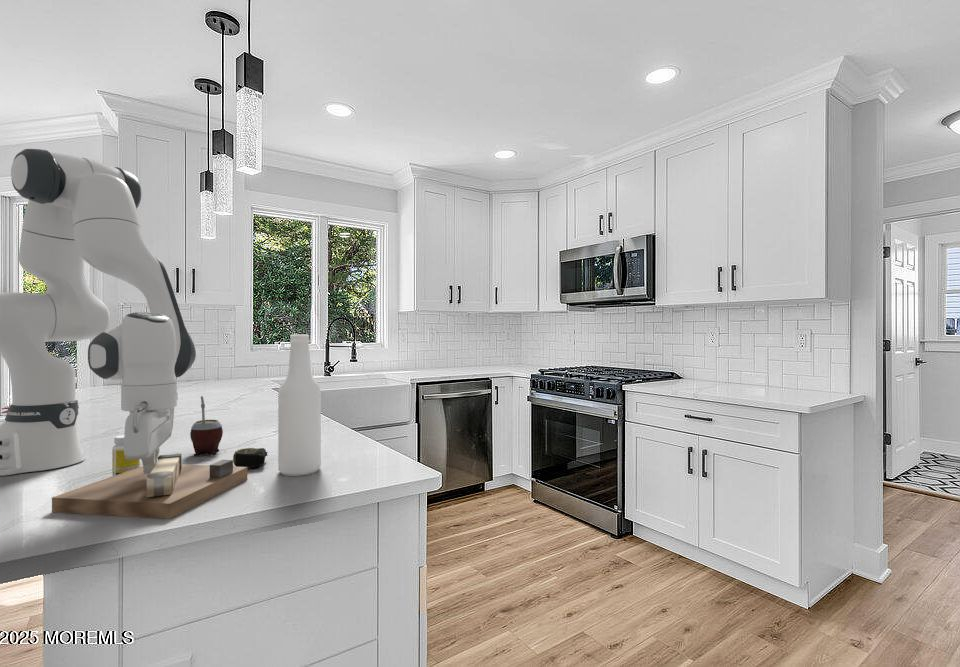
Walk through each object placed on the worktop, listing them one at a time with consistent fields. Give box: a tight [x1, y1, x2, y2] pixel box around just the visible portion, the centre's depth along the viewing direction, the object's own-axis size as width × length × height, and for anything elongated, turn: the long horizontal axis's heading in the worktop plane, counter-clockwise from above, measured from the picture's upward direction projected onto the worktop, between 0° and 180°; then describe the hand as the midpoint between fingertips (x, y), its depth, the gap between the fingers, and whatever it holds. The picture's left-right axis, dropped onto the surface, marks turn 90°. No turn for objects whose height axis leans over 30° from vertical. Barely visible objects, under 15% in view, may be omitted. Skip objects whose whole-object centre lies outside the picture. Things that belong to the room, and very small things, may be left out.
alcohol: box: [277, 333, 322, 477], centre depth 111 cm, size 9×9×30 cm
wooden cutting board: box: [51, 459, 248, 520], centre depth 96 cm, size 22×22×5 cm
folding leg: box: [147, 453, 183, 497], centre depth 94 cm, size 17×4×3 cm, turn 26°
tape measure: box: [232, 447, 268, 469], centre depth 115 cm, size 7×7×4 cm
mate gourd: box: [189, 395, 224, 457], centre depth 126 cm, size 8×8×15 cm
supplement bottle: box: [111, 434, 141, 476], centre depth 108 cm, size 5×5×8 cm
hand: (150, 472), depth 96 cm, fingers closed
